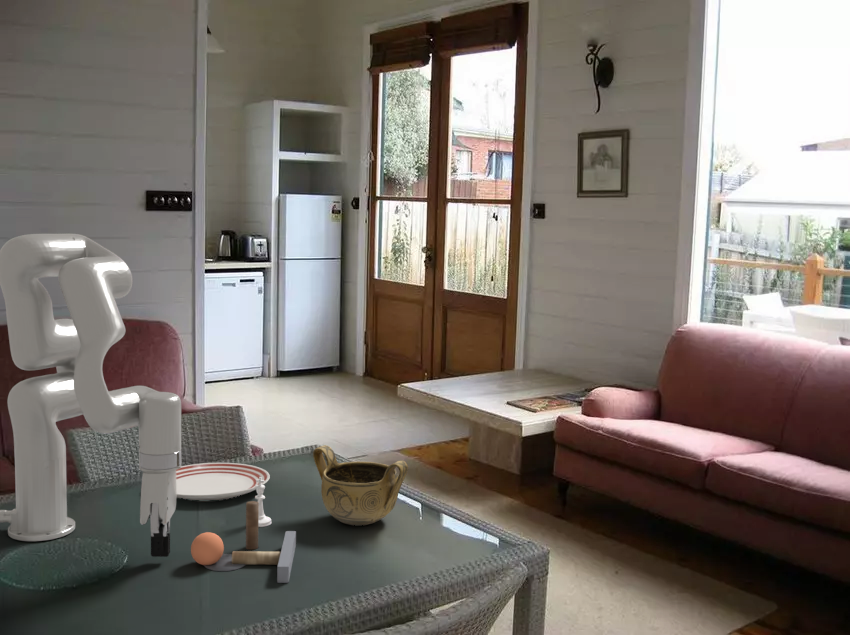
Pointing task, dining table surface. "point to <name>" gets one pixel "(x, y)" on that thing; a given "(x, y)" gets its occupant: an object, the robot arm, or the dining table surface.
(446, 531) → the dining table surface
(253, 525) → the walnut pin
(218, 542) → the ball
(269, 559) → the beech pin
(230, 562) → the pin spot
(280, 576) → the back wall
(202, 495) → the dinner plate
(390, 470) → the ceramic bowl
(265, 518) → the chess piece
